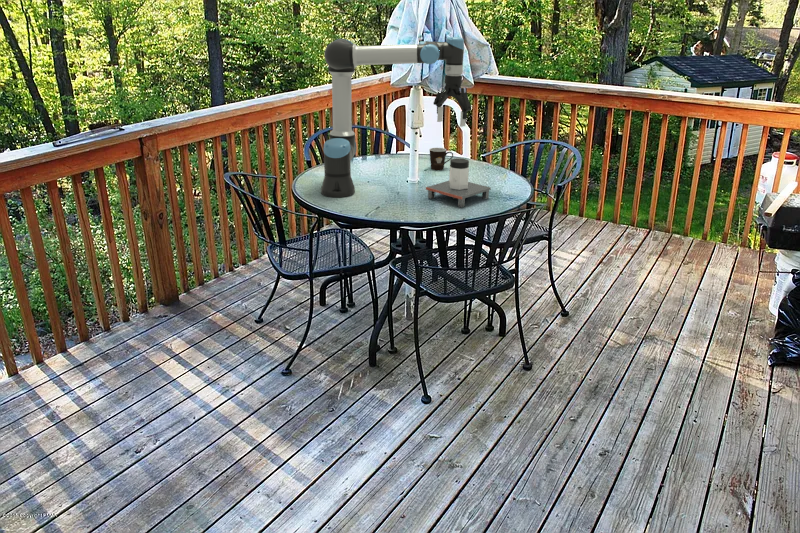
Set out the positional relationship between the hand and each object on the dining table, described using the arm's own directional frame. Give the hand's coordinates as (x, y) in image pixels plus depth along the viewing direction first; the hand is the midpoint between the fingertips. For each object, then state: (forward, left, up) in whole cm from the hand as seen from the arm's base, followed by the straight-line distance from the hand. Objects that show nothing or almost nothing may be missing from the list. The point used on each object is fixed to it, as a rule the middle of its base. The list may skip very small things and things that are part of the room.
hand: (451, 123), depth 294 cm
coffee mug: (-25, +24, -30) cm, 46 cm away
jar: (+13, -8, -25) cm, 29 cm away
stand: (+13, -8, -30) cm, 34 cm away
